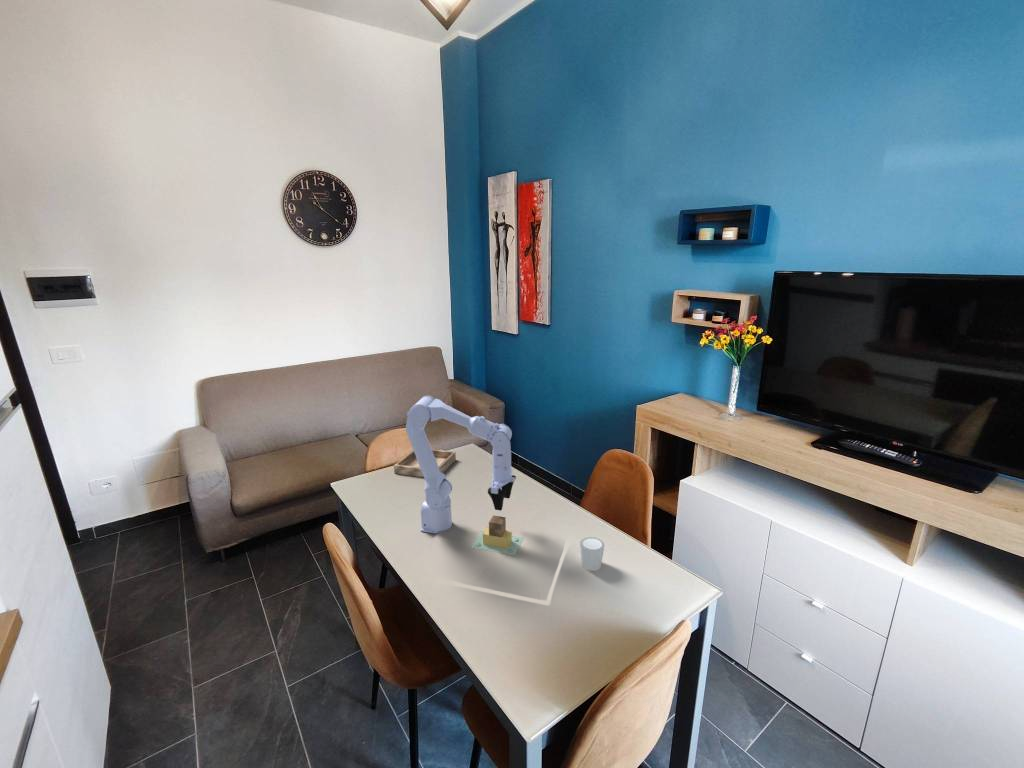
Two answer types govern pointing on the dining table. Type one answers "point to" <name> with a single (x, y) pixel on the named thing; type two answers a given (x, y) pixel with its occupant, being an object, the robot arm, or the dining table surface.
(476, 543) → the plate
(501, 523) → the walnut block
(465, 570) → the dining table surface
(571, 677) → the dining table surface
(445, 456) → the tan wooden shallow tray
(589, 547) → the shot glass
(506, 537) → the ochre brick
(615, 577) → the dining table surface
